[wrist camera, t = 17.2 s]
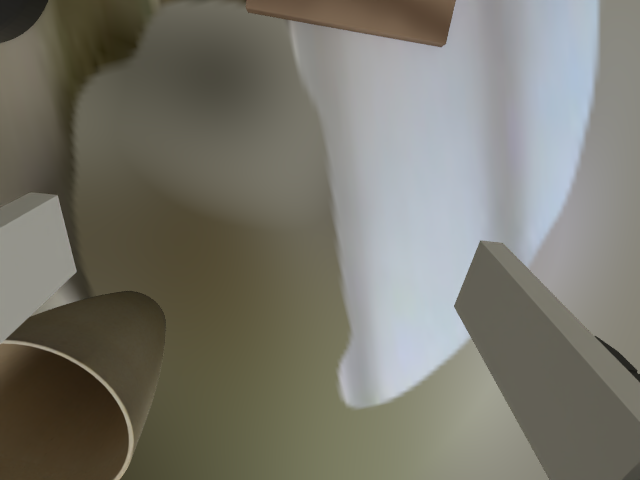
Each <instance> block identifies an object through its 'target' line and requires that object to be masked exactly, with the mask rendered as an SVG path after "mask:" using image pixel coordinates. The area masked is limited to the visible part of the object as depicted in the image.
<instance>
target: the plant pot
mask: <svg viewBox="0 0 640 480" xmlns="http://www.w3.org/2000/svg"><path fill="white" fill-rule="evenodd" d="M165 331H166V320H165V316H164V313H163V311H162V309H161V308H160V306H159V305H158V304H157V303H156V302H155V301H154V300H153V299H151V298H150V297H148V296H146V295H144V294H141V293H138V292H133V291H124V292H117V293H110V294H105V295H100V296H95V297H91V298H87V299H83V300H79V301H76V302H73V303H69V304H66V305H63V306H59V307H57V308H54V309H51V310H48V311H45V312H42V313H39V314H37V315H34V316H31V317H29V318H27V319H26V320H25V321H24V322H23V323H22V324H21V325H20V326H19V327H18V328H17V329H16V330H15V331H14V332H13V333H12V334H11V335H10V336H8V337H7V338H6V339H5V340H4V341H3V342H2V343H1V344H0V480H119V479H120V478H121V477H122V475H123V474H124V472H125V471H126V469H127V468H128V465H129V463H130V461H131V458H132V456H133V453H134V451H135V448H136V445H137V443H138V440H139V437H140V435H141V432H142V429H143V427H144V424H145V421H146V418H147V416H148V413H149V410H150V407H151V403H152V400H153V397H154V393H155V390H156V387H157V382H158V378H159V374H160V369H161V364H162V359H163V352H164V345H165Z"/></svg>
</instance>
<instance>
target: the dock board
mask: <svg viewBox="0 0 640 480" xmlns="http://www.w3.org/2000/svg"><path fill="white" fill-rule="evenodd" d="M455 1H456V0H246V9H247V11H248V13H254V14H259V15H265V16H270V17H276V18H281V19H287V20H293V21H298V22H304V23H309V24H315V25H321V26H326V27H332V28H337V29H343V30H348V31H354V32H360V33H365V34H371V35H376V36H382V37H387V38H393V39H399V40H404V41H410V42H415V43H421V44H426V45H432V46H438V47H442V46H443V45H445V44H446V41H447V36H448V32H449V27H450V23H451V19H452V14H453V10H454V6H455Z"/></svg>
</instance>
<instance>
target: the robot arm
mask: <svg viewBox="0 0 640 480" xmlns="http://www.w3.org/2000/svg"><path fill="white" fill-rule="evenodd" d="M47 1H48V0H0V43H1V42H5V41H8V40H11V39H14V38H16V37H18V36H19V35H21V34H23V33H24V32H25V31H27V30H28V29H29V28H30V27H31V26H32V25H33V24H34V23H35V22H36V21H37V19H38V18H39V17H40V15H41V14H42V12H43V10H44V8H45V6H46V4H47ZM76 272H77V271H76V267H75V263H74V259H73V255H72V251H71V247H70V243H69V239H68V235H67V231H66V227H65V223H64V219H63V215H62V211H61V207H60V203H59V199H58V195H52V194H43V193H34V192H30V193H28V194H26V195H24V196H22V197H20V198H18V199H16V200H14V201H12V202H10V203H8V204H6V205H4V206H2V207H0V344H1V343H2V342H3V341H4V340H5V339H6V338H7V337H8V336H10V335H11V334H12V333H13V332H14V331H15V330H16V329H17V328H18V327H19V326H20V325H21V324H22V323H23V322H24V321H25V320H26V319H27V318H29V317H30V316H31V315H32V314H33V313H34V312H35V311H36V310H37V309H38V308H39V307H40V306H41V305H42V304H43V303H44V302H45V301H47V300H48V299H49V298H50V297H51V296H52V295H53V294H54V293H55V292H56V291H57V290H58V289H59V288H60V287H61V286H62V285H63V284H65V283H66V282H67V281H68V280H69V279H70V278H71V277H72V276H73V275H74V274H75V273H76ZM454 307H455V309H456V311H457V313H458V315H459V316H460V318H461V320H462V322H463V324H464V325H465V327H466V329H467V331H468V333H469V335H470V336H471V338H472V340H473V342H474V344H475V345H476V347H477V349H478V351H479V353H480V354H481V356H482V358H483V360H484V362H485V363H486V365H487V367H488V369H489V371H490V372H491V374H492V376H493V378H494V380H495V381H496V384H497V385H498V387H499V389H500V391H501V392H502V394H503V396H504V398H505V400H506V402H507V403H508V405H509V407H510V409H511V411H512V413H513V414H514V416H515V418H516V420H517V422H518V423H519V425H520V427H521V429H522V431H523V432H524V434H525V436H526V438H527V440H528V441H529V443H530V445H531V447H532V449H533V451H534V452H535V454H536V456H537V458H538V460H539V462H540V463H541V465H542V467H543V469H544V471H545V472H546V474H547V476H548V478H549V480H640V374H638V373H637V370H636V369H635V368H634V367H633V366H632V365H631V364H630V363H629V362H628V361H627V360H626V359H625V358H624V357H623V356H622V355H621V354H620V353H619V352H618V351H616V350H615V349H614V348H612V347H611V346H609V345H608V344H606V343H605V342H603V341H602V340H601V339H599V338H598V337H596V336H594V335H593V334H591V332H590V331H589V330H588V329H587V328H586V327H585V326H584V325H583V324H582V323H581V322H580V321H579V320H578V319H577V318H576V317H575V316H574V315H573V314H572V313H571V312H570V311H569V310H568V309H567V308H566V307H565V306H564V305H563V304H562V303H561V302H560V301H559V300H558V299H557V298H556V297H555V296H554V295H553V294H552V293H551V292H550V291H549V290H548V289H547V288H546V287H545V286H544V285H543V284H542V283H541V282H540V280H539V279H538V278H537V277H536V276H535V275H533V273H532V272H531V271H530V270H529V269H528V268H527V267H526V266H525V265H524V264H523V263H522V262H521V261H520V260H519V259H518V258H517V257H516V256H515V255H514V254H513V253H512V252H511V251H510V250H509V249H508V248H507V247H506V246H505V245H504V244H503V243H498V242H489V241H480V243H479V245H478V248H477V250H476V253H475V255H474V258H473V260H472V263H471V265H470V268H469V270H468V273H467V275H466V278H465V280H464V283H463V285H462V288H461V290H460V293H459V295H458V298H457V300H456V303H455V305H454Z"/></svg>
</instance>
